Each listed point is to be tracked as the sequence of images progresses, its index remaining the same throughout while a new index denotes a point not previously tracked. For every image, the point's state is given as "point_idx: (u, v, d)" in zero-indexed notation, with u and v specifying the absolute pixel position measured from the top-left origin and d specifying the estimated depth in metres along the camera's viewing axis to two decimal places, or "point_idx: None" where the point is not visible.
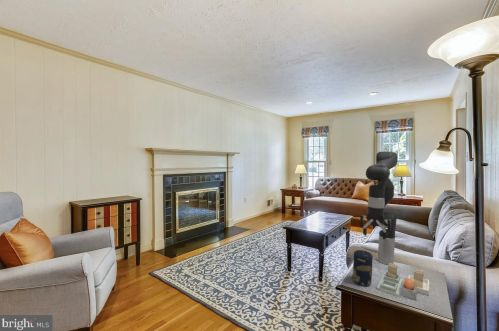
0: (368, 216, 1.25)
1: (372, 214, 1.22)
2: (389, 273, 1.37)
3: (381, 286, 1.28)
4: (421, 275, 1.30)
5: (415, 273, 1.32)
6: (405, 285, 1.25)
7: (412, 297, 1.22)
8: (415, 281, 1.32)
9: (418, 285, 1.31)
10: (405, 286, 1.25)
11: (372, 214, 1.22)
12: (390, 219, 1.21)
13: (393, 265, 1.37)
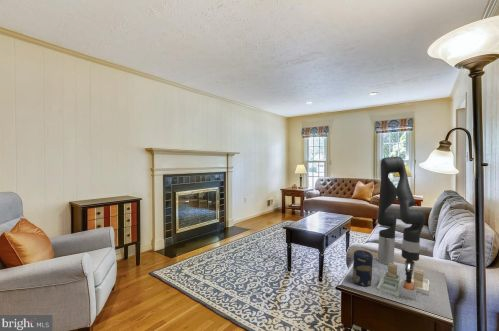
0: (411, 262, 1.21)
1: (418, 258, 1.21)
2: (389, 273, 1.37)
3: (381, 286, 1.28)
4: (421, 275, 1.30)
5: (415, 273, 1.32)
6: (405, 287, 1.25)
7: (412, 297, 1.22)
8: (415, 281, 1.32)
9: (418, 285, 1.31)
10: None
11: (418, 258, 1.22)
12: None
13: (393, 265, 1.37)
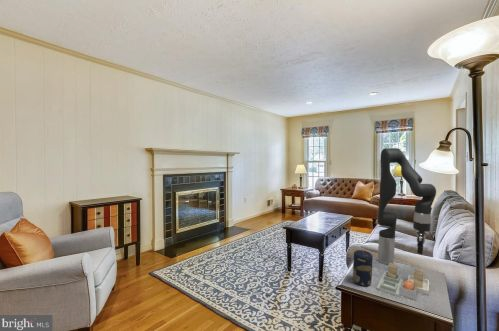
0: (423, 233, 1.28)
1: None
2: (389, 273, 1.37)
3: (381, 286, 1.28)
4: (421, 275, 1.30)
5: (415, 273, 1.32)
6: (405, 287, 1.25)
7: (412, 297, 1.22)
8: (415, 281, 1.32)
9: (418, 285, 1.31)
10: None
11: None
12: None
13: (393, 265, 1.37)
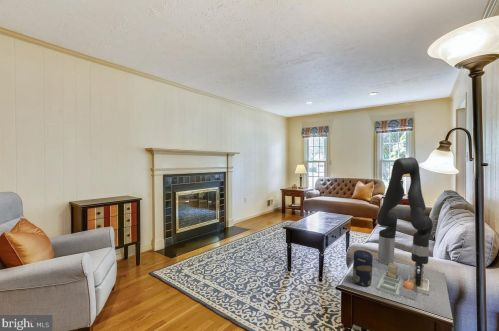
0: (421, 266, 1.29)
1: (427, 262, 1.29)
2: (389, 273, 1.37)
3: (381, 286, 1.28)
4: None
5: None
6: (405, 287, 1.25)
7: (412, 297, 1.22)
8: (415, 281, 1.32)
9: None
10: None
11: None
12: None
13: (393, 265, 1.37)
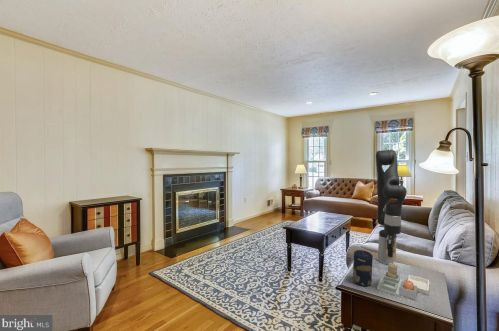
0: (393, 236, 1.25)
1: (400, 232, 1.25)
2: (389, 273, 1.37)
3: (381, 286, 1.28)
4: (393, 246, 1.26)
5: None
6: (405, 287, 1.25)
7: (412, 297, 1.22)
8: (387, 252, 1.27)
9: None
10: None
11: (400, 232, 1.25)
12: None
13: (393, 265, 1.37)
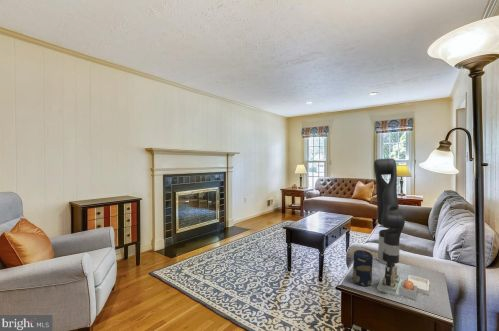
0: (391, 265, 1.26)
1: (398, 261, 1.26)
2: None
3: (381, 286, 1.28)
4: (392, 276, 1.27)
5: None
6: (405, 287, 1.25)
7: (412, 297, 1.22)
8: None
9: None
10: None
11: (398, 261, 1.26)
12: None
13: None
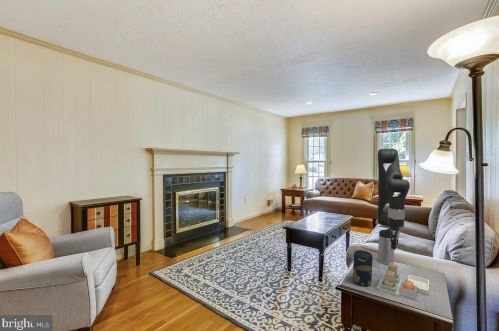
0: (397, 229, 1.27)
1: (403, 225, 1.27)
2: None
3: (381, 286, 1.28)
4: (392, 276, 1.27)
5: (386, 274, 1.28)
6: (405, 287, 1.25)
7: (412, 297, 1.22)
8: (386, 283, 1.29)
9: None
10: None
11: (403, 225, 1.27)
12: None
13: (393, 265, 1.37)
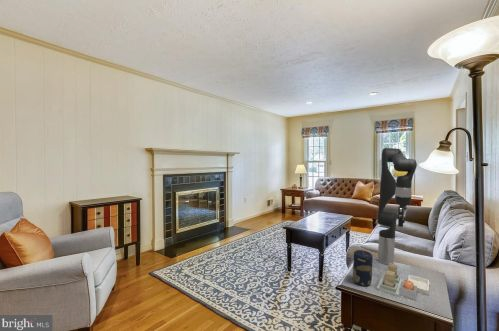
0: (404, 207, 1.30)
1: (410, 203, 1.30)
2: None
3: (381, 286, 1.28)
4: (392, 276, 1.27)
5: (386, 274, 1.28)
6: (405, 287, 1.25)
7: (412, 297, 1.22)
8: (386, 283, 1.29)
9: None
10: None
11: (410, 203, 1.30)
12: None
13: (393, 265, 1.37)
